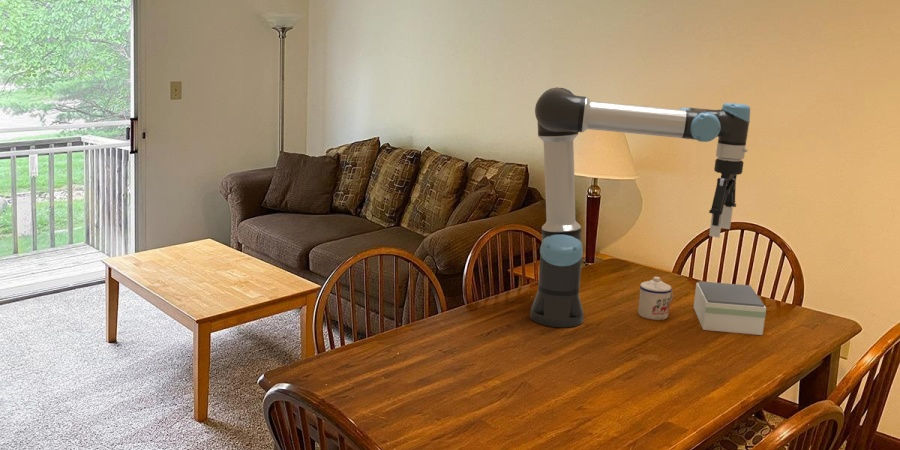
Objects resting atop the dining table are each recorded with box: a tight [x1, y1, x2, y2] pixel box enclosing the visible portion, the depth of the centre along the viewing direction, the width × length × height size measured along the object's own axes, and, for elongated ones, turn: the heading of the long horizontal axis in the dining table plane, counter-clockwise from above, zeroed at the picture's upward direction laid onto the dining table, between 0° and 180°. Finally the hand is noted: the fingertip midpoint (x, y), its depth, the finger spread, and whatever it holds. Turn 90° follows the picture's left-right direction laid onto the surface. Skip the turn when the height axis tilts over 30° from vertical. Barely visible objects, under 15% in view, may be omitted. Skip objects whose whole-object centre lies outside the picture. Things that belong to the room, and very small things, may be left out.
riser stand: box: [693, 280, 767, 336], centre depth 229 cm, size 16×20×9 cm
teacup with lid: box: [637, 276, 674, 321], centre depth 232 cm, size 12×9×12 cm
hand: (719, 232), depth 226 cm, fingers open, 13 cm apart
